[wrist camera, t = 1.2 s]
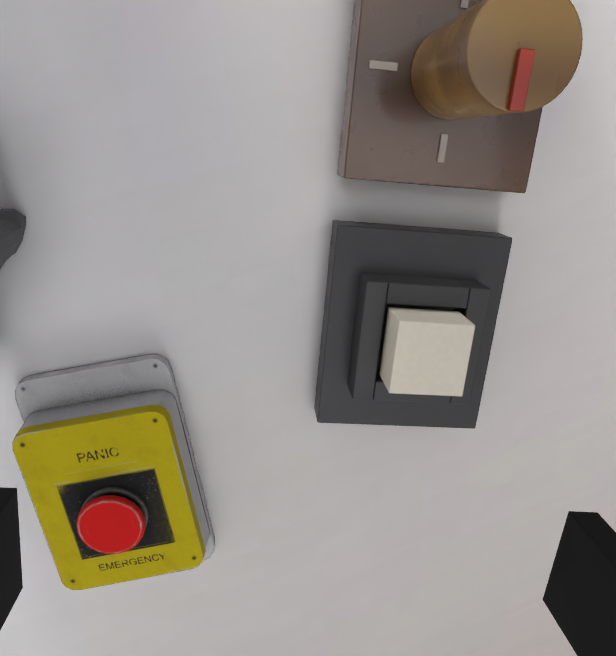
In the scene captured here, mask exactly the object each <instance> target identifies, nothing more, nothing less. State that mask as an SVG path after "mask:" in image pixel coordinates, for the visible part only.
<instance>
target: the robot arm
mask: <svg viewBox="0 0 616 656" xmlns="http://www.w3.org/2000/svg"><path fill="white" fill-rule="evenodd" d="M22 588H23V587H22V569H21V552H20V535H19V517H18V500H17V488H1V487H0V630H1V628H2V626H3V624H4V622H5V620H6V618H7V616H8V615H9V613H10V611H11V609H12V607H13V605H14V603H15V601H16V599H17V597H18V595H19V593H20V592H21V590H22ZM543 601H544V602H545V604H546V606H547V607H548V609H549V610H550V612H551V614H552V615H553V617H554V619H555V620H556V622H557V623H558V625H559V627H560V628H561V630H562V631H563V633H564V635H565V636H566V638H567V640H568V641H569V643H570V644H571V646H572V648H573V649H574V651H575V653H576V654H577V656H616V532H615V531H614V530H613V529H612V528H611V527H610V526H609V525H608V524H607V523H606V521H605V520H604V519H603V518H602V517H601V516H600V515H599V514H598V513H595V512H571V511H569V513H568V516H567V519H566V523H565V526H564V530H563V533H562V536H561V540H560V543H559V546H558V550H557V553H556V557H555V560H554V563H553V567H552V570H551V573H550V577H549V580H548V584H547V587H546V590H545V594H544V597H543Z"/></svg>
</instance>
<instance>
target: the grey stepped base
mask: <svg viewBox="0 0 616 656" xmlns="http://www.w3.org/2000/svg"><path fill="white" fill-rule="evenodd" d="M511 243H512V238H510V237H508V236H505V235H502V234H500V233H494V232H481V231H468V230H455V229H442V228H429V227H416V226H403V225H390V224H377V223H363V222H350V221H337V220H334V221H333V225H332V235H331V245H330V255H329V265H328V276H327V286H326V296H325V306H324V316H323V327H322V337H321V347H320V357H319V367H318V377H317V388H316V398H315V412H316V417H317V421H318V422H320V423H346V424H372V425H399V426H425V427H451V428H475V426H476V421H477V416H478V411H479V406H480V401H481V396H482V390H483V385H484V380H485V375H486V370H487V365H488V360H489V355H490V350H491V345H492V339H493V334H494V329H495V324H496V319H497V314H498V309H499V304H500V299H501V294H502V289H503V283H504V278H505V273H506V268H507V263H508V258H509V253H510V248H511ZM389 307H396V308H412V309H429V310H445V311H459V312H460V313H461V314H462V315H464V316H465V317H466V318H467V319H468V320H470V321H471V322H472V323H473V324H474V325H475V330H474V336H473V341H472V347H471V352H470V357H469V363H468V368H467V374H466V379H465V384H464V390H463V395H462V396H442V395H419V394H396V393H389V392H388V390H387V388H386V386H385V384H384V382H383V380H382V378H381V376H380V366H381V359H382V351H383V344H384V336H385V329H386V322H387V314H388V308H389Z"/></svg>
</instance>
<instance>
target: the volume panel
mask: <svg viewBox="0 0 616 656" xmlns="http://www.w3.org/2000/svg"><path fill="white" fill-rule="evenodd" d="M481 1H483V0H355V1H354V11H353V21H352V32H351V42H350V52H349V62H348V72H347V83H346V93H345V103H344V113H343V123H342V133H341V144H340V154H339V164H338V175H339V176H341V177H344V178H350V179H362V180H374V181H386V182H397V183H409V184H421V185H433V186H445V187H456V188H468V189H480V190H492V191H504V192H516V193H525V192H526V187H527V182H528V177H529V172H530V167H531V162H532V157H533V152H534V147H535V142H536V137H537V132H538V127H539V122H540V117H541V112H542V107H543V106H542V107H540V108H538V109H535V110H532V111H528V112H521V113H512V114H503V115H494V116H485V117H476V118H467V119H457V120H445V119H440V118H437V117H435V116H433V115H431V114H430V113H428V112H427V111H426V110H425V109H424V108H423V107H422V106H421V105H420V104H419V102H418V101H417V99H416V97H415V95H414V92H413V89H412V84H411V67H412V62H413V59H414V56H415V54H416V51H417V49H418V48H419V46H420V44H421V43H422V42H423V41H424V39H425V38H426V37H427V36H428V35H430V34H431V33H432V32H433V31H435V30H437V29H438V28H440V27H441V26H443V25H445V24H446V23H448V22H449V21H451V20H453V19H454V18H456V17H457V16H459V15H461V14H462V13H464V12H465V11H467V10H469V9H470V8H472V7H473V6H475V5H477V4H478V3H480V2H481Z"/></svg>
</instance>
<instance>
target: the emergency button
mask: <svg viewBox="0 0 616 656" xmlns="http://www.w3.org/2000/svg"><path fill="white" fill-rule="evenodd" d="M15 398H16V402H17V405H18V408H19V410H20V413H21V416H22V419H23V422H24V424H23V425H22V427H21V429H20V430H19V432H18V433H17V434H16V436H15V438H14V440H13V452H14V454H15V457H16V460H17V462H18V465H19V468H20V471H21V473H22V476H23V479H24V481H25V484H26V487H27V489H28V492H29V495H30V497H31V500H32V503H33V506H34V508H35V511H36V514H37V516H38V519H39V522H40V524H41V527H42V530H43V533H44V535H45V538H46V541H47V543H48V546H49V549H50V551H51V554H52V557H53V560H54V562H55V565H56V568H57V570H58V573H59V576H60V578H61V581H62V583H63V584H64V585H65V587H67V588H69V589H72V590H82V589H88V588H93V587H98V586H104V585H109V584H114V583H120V582H125V581H130V580H136V579H141V578H146V577H152V576H157V575H163V574H168V573H173V572H179V571H184V570H189V569H193V568H195V567H198V566H199V565H200V564H201V563H202V561H203V560H205V559H208V558H210V556H211V555H212V553H213V552H214V545H215V538H214V534H213V530H212V526H211V522H210V518H209V514H208V510H207V506H206V502H205V498H204V494H203V490H202V486H201V483H200V479H199V475H198V471H197V467H196V463H195V459H194V455H193V451H192V447H191V443H190V439H189V435H188V431H187V427H186V423H185V419H184V415H183V412H182V408H181V404H180V400H179V396H178V392H177V388H176V384H175V380H174V376H173V372H172V368H171V366H170V364H169V362H168V361H167V360H166V359H165V358H163V357H162V356H161V355H155V354H150V355H144V356H138V357H133V358H127V359H121V360H116V361H110V362H104V363H98V364H93V365H87V366H81V367H76V368H70V369H64V370H58V371H53V372H47V373H41V374H36V375H30V376H28V377H26V378H24V379H22V380H21V382H20V383H19V384H18V386H17V388H16V390H15Z"/></svg>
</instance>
